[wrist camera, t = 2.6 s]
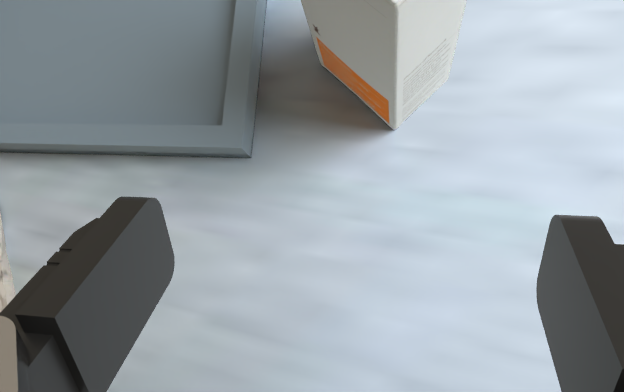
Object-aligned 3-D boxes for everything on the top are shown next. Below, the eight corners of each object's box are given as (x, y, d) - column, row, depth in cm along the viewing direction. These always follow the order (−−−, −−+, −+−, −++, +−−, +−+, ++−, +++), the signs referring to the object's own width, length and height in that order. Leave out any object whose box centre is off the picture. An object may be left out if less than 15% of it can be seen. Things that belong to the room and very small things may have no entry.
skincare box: (317, 65, 29) (265, -99, 17) (371, 14, 29) (355, -183, 17) (395, 136, 27) (395, 7, 16) (452, 81, 27) (493, -87, 16)
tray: (-62, 150, 32) (-89, 141, 30) (-10, -75, 35) (-31, -95, 33) (251, 157, 28) (241, 147, 26) (275, -92, 32) (269, -116, 30)
